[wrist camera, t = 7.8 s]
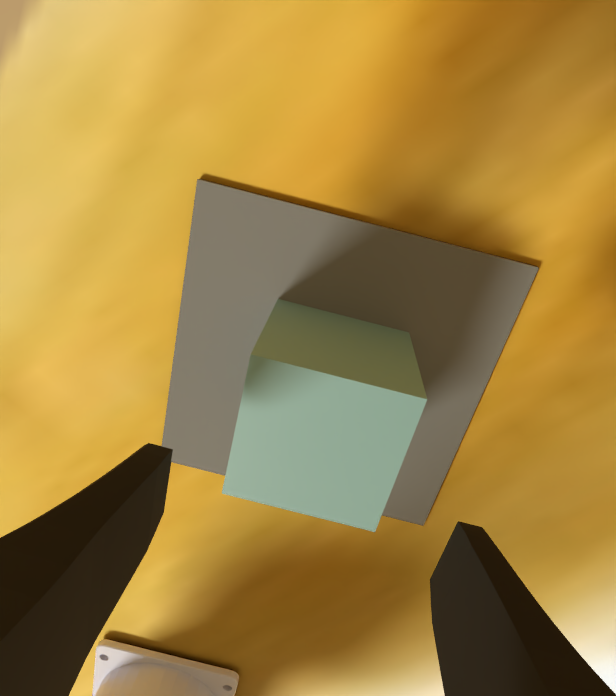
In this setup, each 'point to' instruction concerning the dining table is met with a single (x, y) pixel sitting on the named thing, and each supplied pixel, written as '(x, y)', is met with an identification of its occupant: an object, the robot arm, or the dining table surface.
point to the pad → (340, 298)
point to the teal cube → (325, 415)
